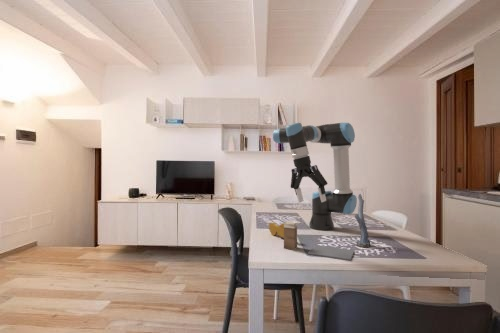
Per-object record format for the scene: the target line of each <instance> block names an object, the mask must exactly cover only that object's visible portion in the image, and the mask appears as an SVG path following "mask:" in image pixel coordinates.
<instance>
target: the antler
mask: <svg viewBox="0 0 500 333" xmlns="http://www.w3.org/2000/svg"><path fill="white" fill-rule="evenodd" d="M357 198H358V208H357V214H354V218H355V220H356V221H357V223H358V227H359V230H360V240H356V244H355V245H356V246H359V247H364V248H365V247H372V244H371V240H370V239H369V232H368V227H367V225H366V221H365V216H364V204H365V200H364V199H363V196H362V194H361V193H358V197H357Z"/></svg>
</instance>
